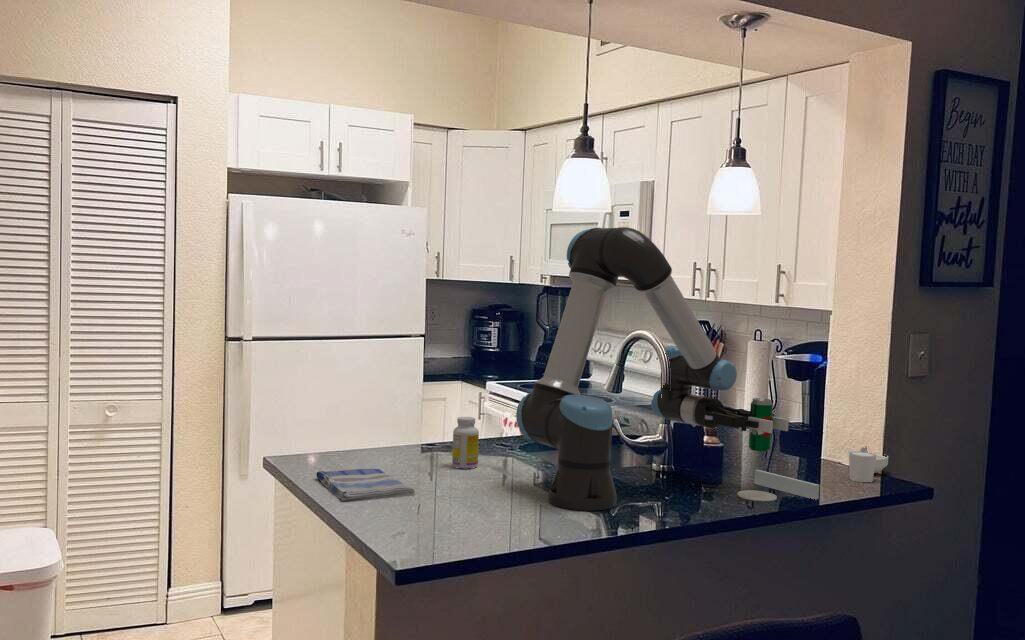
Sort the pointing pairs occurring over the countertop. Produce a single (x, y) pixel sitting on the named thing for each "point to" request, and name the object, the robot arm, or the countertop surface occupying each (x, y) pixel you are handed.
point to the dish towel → (363, 484)
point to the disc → (757, 495)
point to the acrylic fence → (787, 484)
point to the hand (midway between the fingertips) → (779, 426)
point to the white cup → (861, 466)
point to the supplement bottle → (465, 443)
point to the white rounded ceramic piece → (880, 460)
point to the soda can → (762, 411)
